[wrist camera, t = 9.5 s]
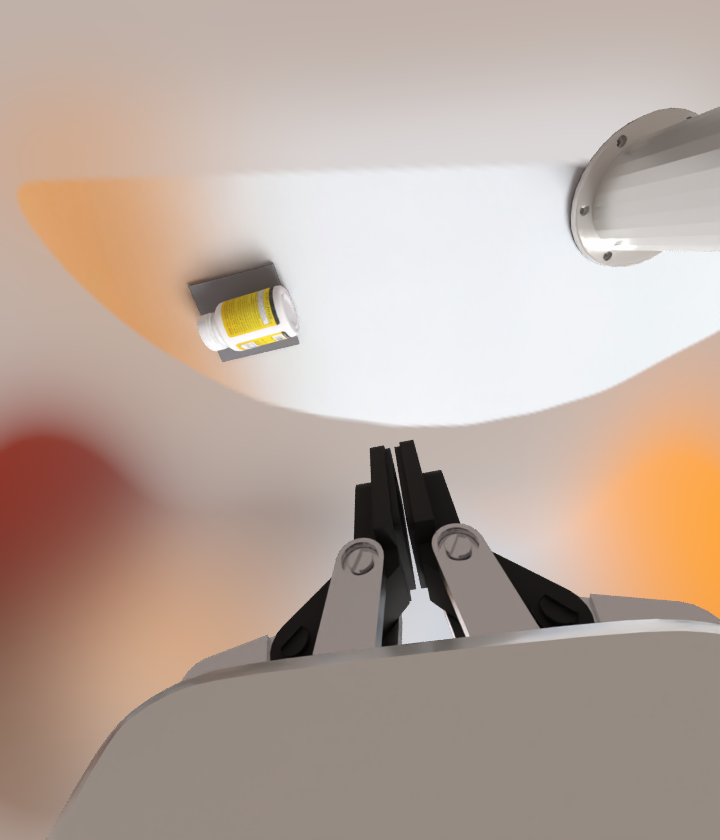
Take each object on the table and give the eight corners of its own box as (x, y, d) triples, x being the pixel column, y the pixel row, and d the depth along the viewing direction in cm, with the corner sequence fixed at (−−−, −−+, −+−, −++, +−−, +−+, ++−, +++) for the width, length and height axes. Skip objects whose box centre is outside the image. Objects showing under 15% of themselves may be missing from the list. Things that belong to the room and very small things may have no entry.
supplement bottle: (280, 273, 34) (197, 298, 35) (279, 304, 30) (187, 331, 32) (300, 314, 38) (225, 335, 39) (300, 345, 35) (219, 367, 36)
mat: (273, 263, 35) (272, 264, 35) (299, 343, 39) (298, 344, 39) (190, 286, 36) (188, 286, 36) (224, 360, 40) (222, 361, 40)
